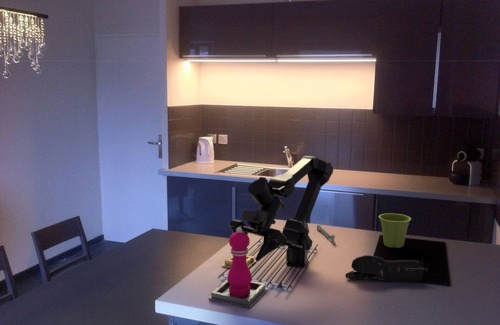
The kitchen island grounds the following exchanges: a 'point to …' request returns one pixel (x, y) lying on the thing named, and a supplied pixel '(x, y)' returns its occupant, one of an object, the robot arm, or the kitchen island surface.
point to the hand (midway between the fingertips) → (244, 257)
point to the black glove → (385, 269)
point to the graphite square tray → (247, 301)
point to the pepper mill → (239, 265)
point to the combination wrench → (326, 233)
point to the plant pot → (394, 229)
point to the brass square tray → (229, 261)
